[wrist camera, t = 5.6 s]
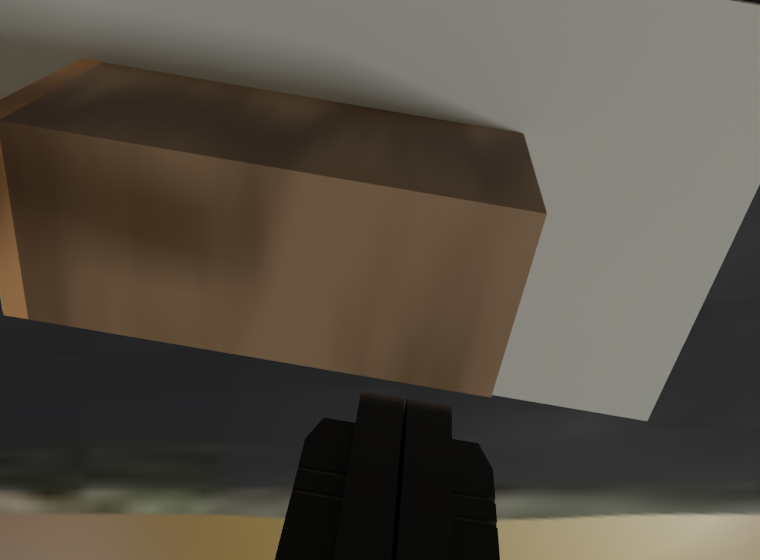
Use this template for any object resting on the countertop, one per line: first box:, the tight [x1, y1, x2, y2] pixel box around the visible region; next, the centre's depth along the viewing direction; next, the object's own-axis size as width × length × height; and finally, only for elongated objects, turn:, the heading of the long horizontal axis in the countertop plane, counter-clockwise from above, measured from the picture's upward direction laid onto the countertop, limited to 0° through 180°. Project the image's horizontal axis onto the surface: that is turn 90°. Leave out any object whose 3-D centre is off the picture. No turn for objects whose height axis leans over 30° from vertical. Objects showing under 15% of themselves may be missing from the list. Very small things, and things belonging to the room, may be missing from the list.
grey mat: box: [0, 0, 760, 421], centre depth 20 cm, size 22×13×1 cm, turn 82°
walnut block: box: [0, 59, 547, 397], centre depth 17 cm, size 5×5×12 cm
